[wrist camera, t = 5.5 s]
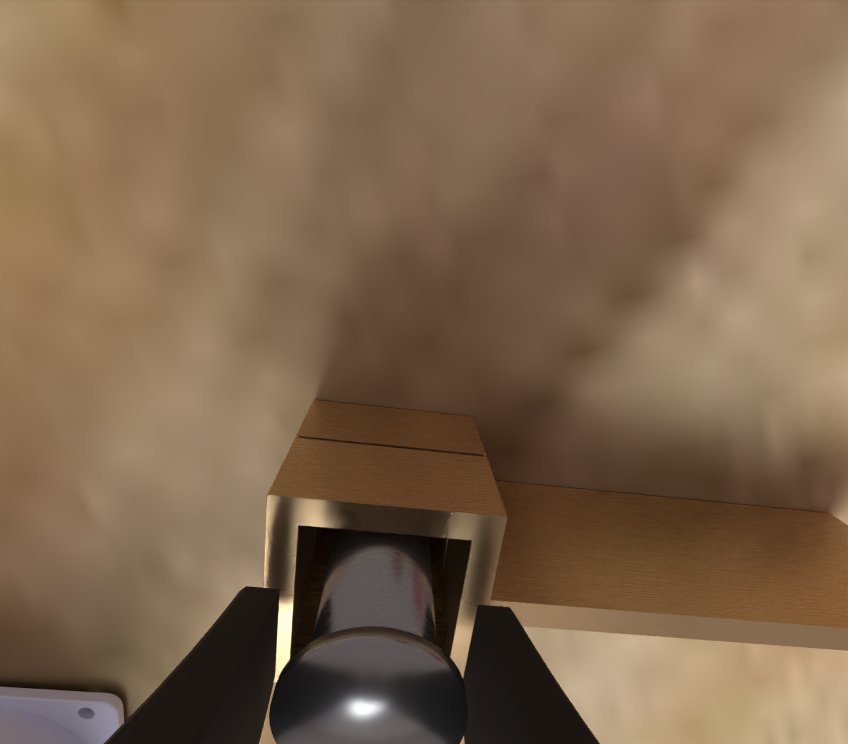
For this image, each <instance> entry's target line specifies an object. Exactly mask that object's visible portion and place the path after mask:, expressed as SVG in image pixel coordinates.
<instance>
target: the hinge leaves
mask: <svg viewBox="0 0 848 744" xmlns="http://www.w3.org/2000/svg"><path fill="white" fill-rule="evenodd" d="M336 528H337V529H349V530H360V531H372V532H383V533H394V534H406V535H417V536H428V537H429V548H430V561H431V575H432V588H433V602H434V615H435V629H436V642H437V646H438V647H439V648H441V649H442V650H443V651H444V652H445V653H446V654H448V656H449V657H450V658H451V659H452V660H453V661H454V663H455V664H456V666H457V667H458V669H459V670H460V673H461V675H462V678H463V676H464V671H465V666H466V661H467V656H468V651H469V646H470V641H471V636H472V631H473V626H474V621H475V616H476V611H477V606H478V605H490V606H503V607H510V608H511V610H512V611H513V612H514V614H515V615H516V617H517V618H518V620H519V622H520V623H521V625H522V626H528V627H541V628H554V629H568V630H581V631H594V632H608V633H621V634H634V635H647V636H661V637H674V638H687V639H701V640H714V641H727V642H741V643H754V644H767V645H780V646H794V647H807V648H820V649H834V650H847V651H848V525H846V524H845V523H843V522H842V521H841V520H839V519H838V518H836V517H835V516H833V515H832V514H831V513H822V512H812V511H802V510H792V509H781V508H771V507H761V506H751V505H740V504H730V503H720V502H710V501H700V500H689V499H679V498H669V497H659V496H648V495H638V494H628V493H618V492H607V491H597V490H587V489H577V488H566V487H556V486H546V485H536V484H525V483H515V482H505V481H495V479H494V476H493V473H492V470H491V467H490V464H489V461H488V458H487V457H486V453H485V450H484V447H483V444H482V441H481V438H480V435H479V432H478V429H477V426H476V423H475V420H474V418H473V417H471V416H461V415H452V414H443V413H433V412H424V411H415V410H405V409H396V408H387V407H377V406H368V405H359V404H349V403H340V402H331V401H321V400H314V401H313V403H312V405H311V407H310V409H309V411H308V413H307V415H306V417H305V419H304V421H303V424H302V426H301V428H300V430H299V432H298V434H297V436H296V438H295V440H294V442H293V444H292V446H291V448H290V450H289V452H288V454H287V456H286V458H285V460H284V462H283V464H282V466H281V468H280V470H279V472H278V474H277V476H276V478H275V480H274V483H273V485H272V487H271V489H270V491H269V493H268V495H267V518H266V543H265V568H264V588H272V589H280V596H279V615H278V634H277V653H276V672H275V679H274V682H277V680H278V677H279V675H280V673H281V671H282V669H283V668H284V666H285V665H286V664H287V662H288V661H289V660H290V659H291V658H292V657H293V656H294V655H295V654H296V653H297V652H298V651H299V650H300V649H302V648H303V647H304V646H306V645H307V644H309V643H310V642H312V638H313V634H314V629H315V624H316V620H317V615H318V610H319V605H320V601H321V596H322V591H323V587H324V582H325V577H326V573H327V568H328V563H329V559H330V554H331V549H332V544H333V540H334V535H335V530H336Z"/></svg>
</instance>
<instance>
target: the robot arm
mask: <svg viewBox="0 0 848 744" xmlns="http://www.w3.org/2000/svg"><path fill="white" fill-rule="evenodd" d="M279 596H280V589H272V588H260V587H247V586H246V587H245V588H243V589H242V590H241V591H239V593H238V594H237V595H236V597H235V598H234V599H233V601H232V602H231V603H230V604H229V606H228V607H227V608H226V609H225V611H224V612H223V613H222V615H221V616H220V617H219V618H218V619H217V621H216V622H215V623H214V624H213V626H212V627H211V628H210V629H209V630H208V632H207V633H206V634H205V635H204V636H203V637H202V639H201V640H200V641H199V642H198V643H197V644H196V646H195V647H194V648H193V649H192V650H191V651H190V653H189V654H188V655H187V656H186V657H185V658H184V659H183V660H182V661H181V663H180V664H179V665H178V666H177V667H176V668H175V669H174V670H173V671H172V673H171V674H170V675H169V676H168V677H167V678H166V679H165V680H164V681H163V683H162V684H161V685H160V686H159V687H158V688H157V689H156V690H155V691H154V692H153V693H152V695H151V696H150V697H149V698H148V699H147V700H146V701H145V702H144V703H143V704H142V705H141V706H140V707H139V708H138V709H137V710H136V711H135V712H134V713H133V714H132V715H131V716H130V717H129V718H128V719H127V720H126V721H125V722H124V712H123V704H122V701H121V699H120V698H119V697H118V696H116V695H114V694H110V693H98V692H82V691H65V690H49V689H32V688H16V687H0V744H259V741H260V737H261V733H262V729H263V725H264V721H265V717H266V713H267V708H268V704H269V700H270V696H271V691H272V687H273V683H274V679H275V672H276V653H277V634H278V615H279ZM463 680H464V685H465V689H466V697H467V705H468V722H467V727H466V730H465V734H464V740H465V744H600V743H599V742H598V740H597V739H596V738H595V736H594V735H593V733H592V732H591V731H590V729H589V728H588V726H587V725H586V724H585V722H584V721H583V719H582V718H581V716H580V715H579V713H578V712H577V710H576V709H575V708H574V706H573V705H572V703H571V702H570V700H569V699H568V697H567V696H566V694H565V693H564V691H563V690H562V689H561V687H560V685H559V684H558V682H557V681H556V679H555V678H554V676H553V675H552V673H551V672H550V670H549V669H548V667H547V665H546V664H545V662H544V661H543V659H542V658H541V656H540V654H539V653H538V651H537V650H536V648H535V646H534V645H533V643H532V642H531V640H530V638H529V637H528V635H527V633H526V632H525V630H524V628H523V627H522V625H521V623H520V622H519V620H518V618H517V617H516V615H515V614H514V612H513V611H512V610H511V608H510V607H503V606H490V605H478V606H477V611H476V616H475V621H474V626H473V631H472V636H471V641H470V646H469V651H468V656H467V661H466V666H465V671H464V676H463Z"/></svg>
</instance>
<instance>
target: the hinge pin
mask: <svg viewBox="0 0 848 744" xmlns="http://www.w3.org/2000/svg"><path fill="white" fill-rule="evenodd" d="M269 719H270V727H271V731H272V734H273V737H274V739H275V742H276V743H277V744H460V742H461V740H462V738H463V736H464V734H465V730H466V727H467V722H468V705H467V697H466V689H465V685H464V680H463V678H462V675H461V673H460V670H459V669H458V667H457V666H456V664H455V663H454V661H453V660H452V659H451V658H450V657H449V656H448V654H446V653H445V652H444V651H443V650H442V649H441V648H439V647H438V646H437V642H436V629H435V615H434V602H433V588H432V575H431V561H430V548H429V537H428V536H417V535H406V534H394V533H383V532H372V531H360V530H349V529H337V528H336V530H335V535H334V540H333V544H332V549H331V554H330V559H329V563H328V568H327V573H326V577H325V582H324V587H323V591H322V596H321V601H320V605H319V610H318V615H317V620H316V624H315V629H314V634H313V638H312V642H310V643H309V644H307V645H306V646H304V647H303V648H302V649H300V650H299V651H298V652H297V653H296V654H295V655H294V656H293V657H292V658H291V659H290V660H289V661H288V662H287V664H286V665H285V666H284V668H283V669H282V671H281V673H280V675H279V677H278V680H277V683H276V686H275V690H274V694H273V698H272V701H271V705H270V713H269Z"/></svg>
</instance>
